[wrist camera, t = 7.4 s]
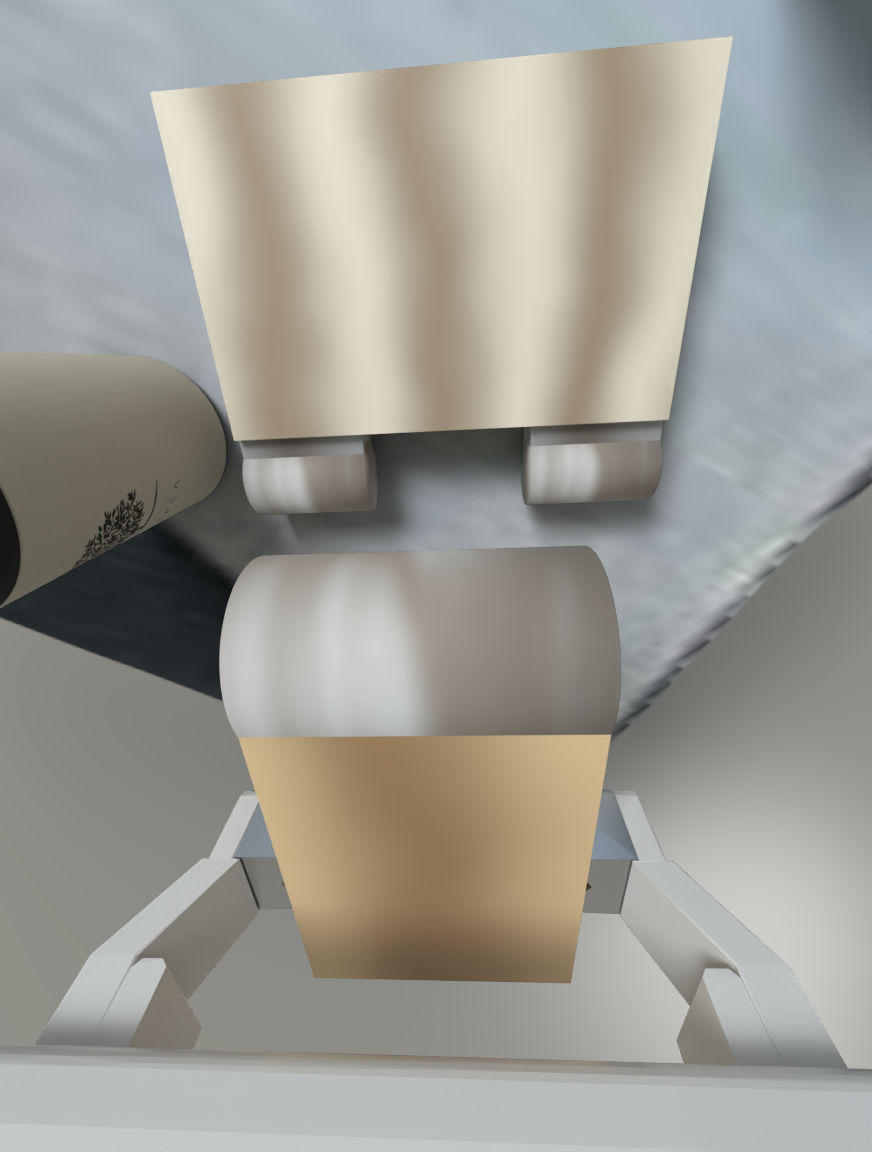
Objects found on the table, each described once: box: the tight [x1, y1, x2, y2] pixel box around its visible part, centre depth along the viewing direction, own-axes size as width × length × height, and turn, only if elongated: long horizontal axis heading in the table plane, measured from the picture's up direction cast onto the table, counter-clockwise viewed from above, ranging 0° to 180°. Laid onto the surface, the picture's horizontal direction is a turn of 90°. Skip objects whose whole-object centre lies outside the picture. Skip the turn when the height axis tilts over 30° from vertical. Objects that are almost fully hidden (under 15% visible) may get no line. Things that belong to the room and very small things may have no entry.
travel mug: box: [0, 351, 226, 608], centre depth 16 cm, size 8×8×18 cm
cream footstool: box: [150, 36, 733, 515], centre depth 20 cm, size 20×16×4 cm
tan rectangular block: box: [220, 546, 621, 983], centre depth 10 cm, size 6×10×4 cm, turn 3°
